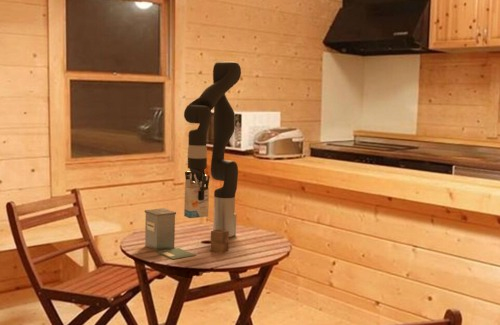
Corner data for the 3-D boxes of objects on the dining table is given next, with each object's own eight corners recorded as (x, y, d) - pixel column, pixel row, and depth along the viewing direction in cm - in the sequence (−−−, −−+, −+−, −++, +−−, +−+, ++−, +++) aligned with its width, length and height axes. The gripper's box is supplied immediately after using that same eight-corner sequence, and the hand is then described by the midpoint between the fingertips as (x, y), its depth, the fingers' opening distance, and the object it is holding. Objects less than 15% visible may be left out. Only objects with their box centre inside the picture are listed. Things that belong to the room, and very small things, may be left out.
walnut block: (218, 248, 233) (219, 229, 232) (228, 250, 230) (228, 231, 229) (210, 251, 228) (211, 231, 228) (220, 253, 226) (221, 233, 225)
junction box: (163, 243, 238) (163, 208, 236) (175, 248, 230) (176, 212, 229) (144, 246, 232) (144, 210, 231) (156, 251, 225) (157, 214, 223)
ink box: (189, 218, 226) (190, 181, 224) (183, 216, 230) (184, 179, 228) (208, 216, 230) (209, 179, 229) (202, 214, 234) (203, 178, 233)
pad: (178, 248, 230) (178, 247, 230) (195, 255, 221) (195, 254, 221) (156, 252, 223) (156, 251, 223) (173, 259, 214) (173, 258, 214)
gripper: (215, 157, 224) (215, 201, 226) (194, 154, 235) (194, 195, 237) (199, 158, 219) (199, 203, 221) (179, 155, 230) (178, 197, 232)
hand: (196, 198), depth 229 cm, fingers closed on ink box, 5 cm apart
